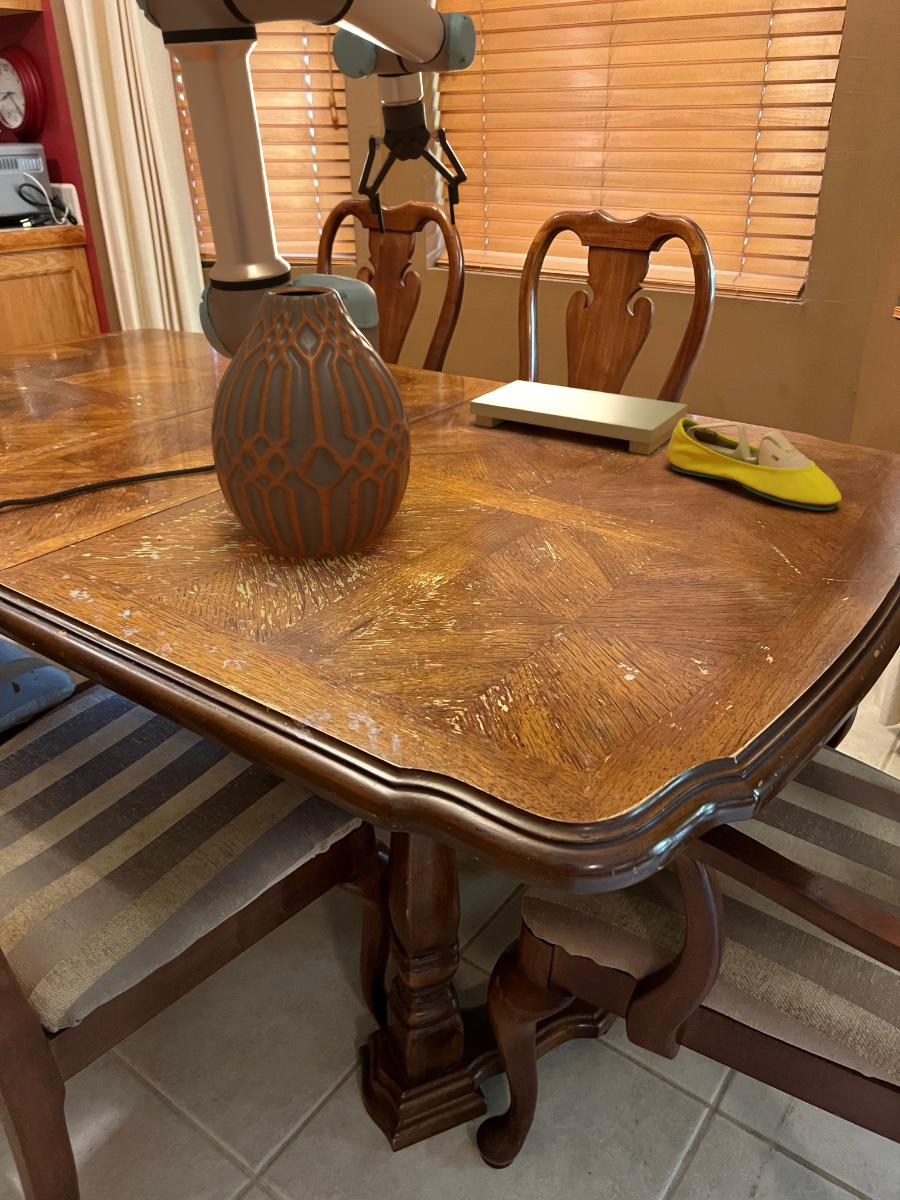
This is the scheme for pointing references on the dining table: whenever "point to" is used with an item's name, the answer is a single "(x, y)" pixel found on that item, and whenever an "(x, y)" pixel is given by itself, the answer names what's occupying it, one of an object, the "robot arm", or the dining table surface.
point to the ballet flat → (752, 464)
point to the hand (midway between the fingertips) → (417, 227)
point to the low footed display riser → (582, 412)
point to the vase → (310, 430)
